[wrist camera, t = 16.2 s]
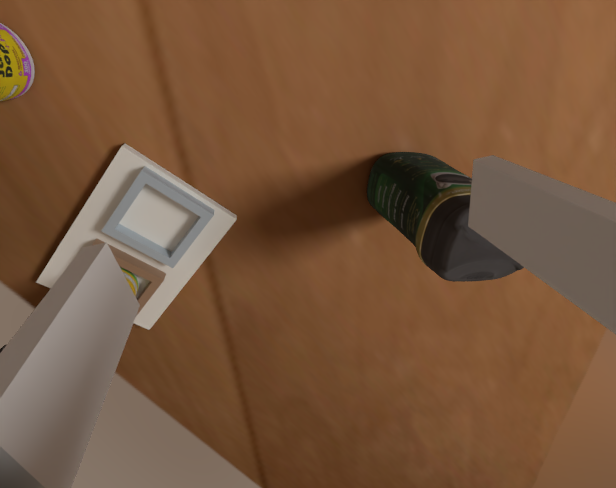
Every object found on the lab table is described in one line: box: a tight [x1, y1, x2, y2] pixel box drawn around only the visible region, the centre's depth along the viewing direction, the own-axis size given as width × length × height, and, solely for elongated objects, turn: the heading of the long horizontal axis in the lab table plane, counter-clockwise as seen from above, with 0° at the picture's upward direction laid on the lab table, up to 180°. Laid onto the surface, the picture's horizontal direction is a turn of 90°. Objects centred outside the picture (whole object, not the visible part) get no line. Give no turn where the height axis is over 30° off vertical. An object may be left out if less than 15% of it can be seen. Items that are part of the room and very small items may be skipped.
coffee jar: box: [367, 152, 524, 281], centre depth 36 cm, size 10×8×19 cm
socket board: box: [36, 144, 237, 330], centre depth 41 cm, size 14×20×3 cm
